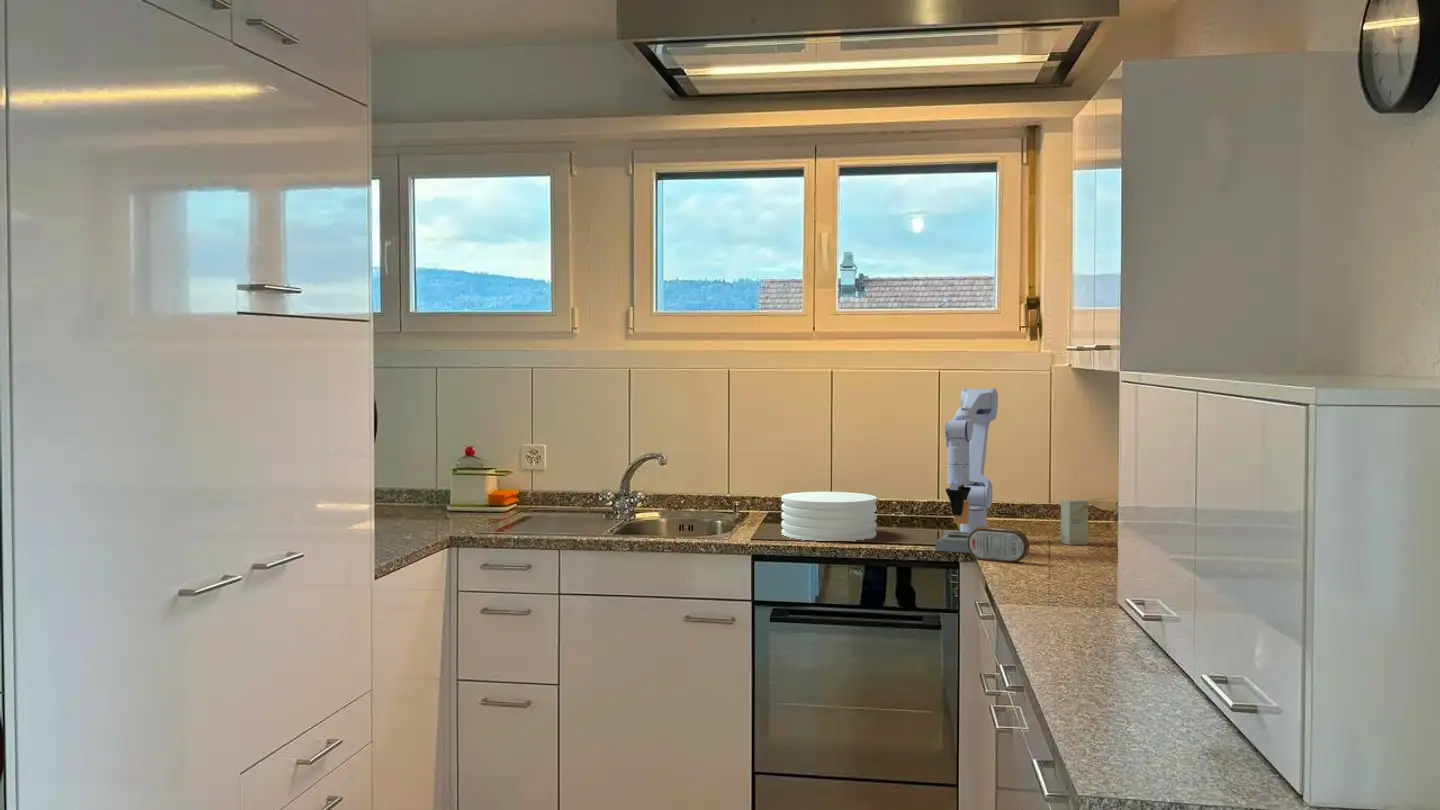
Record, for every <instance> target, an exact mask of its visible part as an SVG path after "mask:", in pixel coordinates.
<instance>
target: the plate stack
mask: <svg viewBox="0 0 1440 810" xmlns="http://www.w3.org/2000/svg"><path fill="white" fill-rule="evenodd" d="M877 498H878V497H877V496H876V495H872V494H869V493H868V494H867V493H861V492H860V493H859V492H848V491H847V492H846V491H802V492H792V493H791V492H790V493H785V494H782V495H781V502H782V503H781V510H782V512H781V517H780V518H781V519H782V521H781V527H782V530H780V531H781V533H782V534H781V536H782V535H784V536H787V537H790V538H789V539H791V538H795V539H794V540H796V539H802V540H801V541H804V540H815V541H814V542H816V541H852V542H857V541H856V540H862V541H865V540H864V539H869V538H872V539H874V538H873V537H875V536H876V535H878V534H877V531H876V530H877V526H878V525H877V522H876V521H877V518H878V517H877V516H878V515H877V513H876V512H877V510H878V508H877V505H876V503H877ZM784 536H783V537H784ZM787 537H786V538H787ZM876 537H877V536H876ZM876 537H875V538H876ZM869 540H870V539H869Z"/></svg>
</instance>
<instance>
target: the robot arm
mask: <svg viewBox="0 0 1440 810" xmlns="http://www.w3.org/2000/svg"><path fill="white" fill-rule="evenodd" d="M959 400H960V401H959V402H960V407H959V408H958V409H957V410H956V412H955V414H954V416H953V418H952V419H949V420H948V421H946V423H945V425H944V436H945V445H946V448H947V480H946V484H948V485H949V488H945V493H946V495H947V496H948V500H949V503H950V506H951V507H950V508H951V509H950V510H951V512H952V515H953V516H954V515H958V516H961V514H962V509H963V503H964V500H970V507H969V523H968V524H959V525H960V526H959V527H960V530H959V531H967V532H972V531H973V530H974V529H976V528H978V527H981V526H987V510H988V509H989V508H990V507H992V504H993V484H992V481H991V480H990V479H989V478H987V477H986V476H985V475H984V474H985V464H986V455H987V445H988V438H989V437H988V436H989V435H988V434H989V430H990V429H989V428H990V424H991V422H993V421H995V420H996V419H997V415H998V407H999V406H998V405H999V395H998V391H997V389H996V388H962V390H961V392H960V399H959Z"/></svg>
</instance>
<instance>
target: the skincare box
mask: <svg viewBox="0 0 1440 810" xmlns="http://www.w3.org/2000/svg"><path fill="white" fill-rule="evenodd" d="M1060 543H1061V544H1063V545H1070V546H1072V545H1073V546H1076V545H1077V546H1078V545H1089V500H1083V499H1061V500H1060Z"/></svg>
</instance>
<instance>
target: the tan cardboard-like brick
mask: <svg viewBox="0 0 1440 810" xmlns="http://www.w3.org/2000/svg"><path fill="white" fill-rule="evenodd" d="M969 507H970V500H964V503H963V509H962V514H961V516H958V515H953V524H959V525H960V524H968V523H969Z"/></svg>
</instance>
